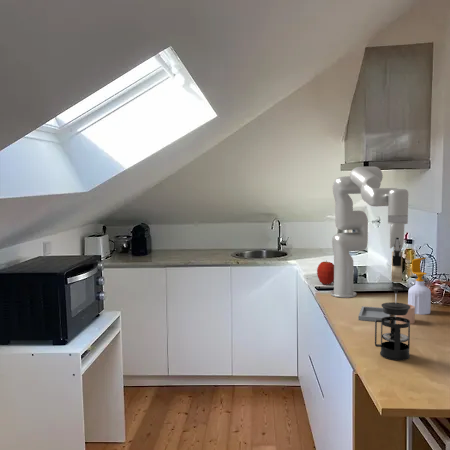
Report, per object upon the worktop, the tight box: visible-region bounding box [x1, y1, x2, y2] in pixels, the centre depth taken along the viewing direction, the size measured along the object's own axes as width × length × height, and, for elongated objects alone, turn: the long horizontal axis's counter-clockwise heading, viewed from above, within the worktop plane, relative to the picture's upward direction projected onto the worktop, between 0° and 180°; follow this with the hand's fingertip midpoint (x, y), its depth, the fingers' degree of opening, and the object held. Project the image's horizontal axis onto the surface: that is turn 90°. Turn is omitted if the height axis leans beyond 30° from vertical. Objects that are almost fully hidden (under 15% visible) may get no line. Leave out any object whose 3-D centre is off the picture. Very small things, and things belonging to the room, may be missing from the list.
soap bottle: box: [407, 257, 432, 316], centre depth 209 cm, size 9×9×25 cm
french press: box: [374, 286, 411, 362], centre depth 160 cm, size 12×9×23 cm
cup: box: [396, 303, 416, 325], centre depth 196 cm, size 7×7×7 cm
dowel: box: [390, 250, 403, 283], centre depth 197 cm, size 4×4×12 cm
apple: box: [316, 260, 334, 285], centre depth 270 cm, size 10×10×14 cm
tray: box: [357, 305, 391, 323], centre depth 204 cm, size 16×12×2 cm
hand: (396, 264), depth 197 cm, fingers closed on dowel, 4 cm apart
